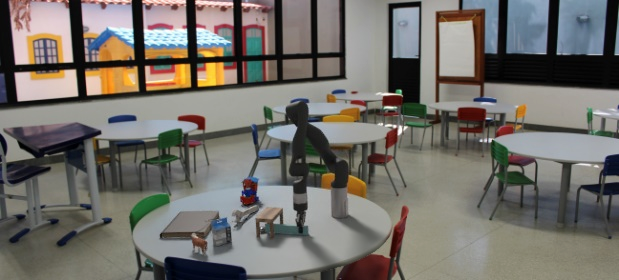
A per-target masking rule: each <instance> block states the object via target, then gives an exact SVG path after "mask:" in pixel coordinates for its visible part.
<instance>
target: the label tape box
mask: <svg viewBox="0 0 619 280" xmlns="http://www.w3.org/2000/svg"><path fill="white" fill-rule="evenodd" d="M211 235H212V244H213V246H215V247H219V246H222V245H226V244H229V243H232V242H233V241H232V240H233V239H232V227H231V225H230V223H229V222H228V217H222V218H219V219H218V218H217V219H216V220H214V221H212V226H211Z"/></svg>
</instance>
